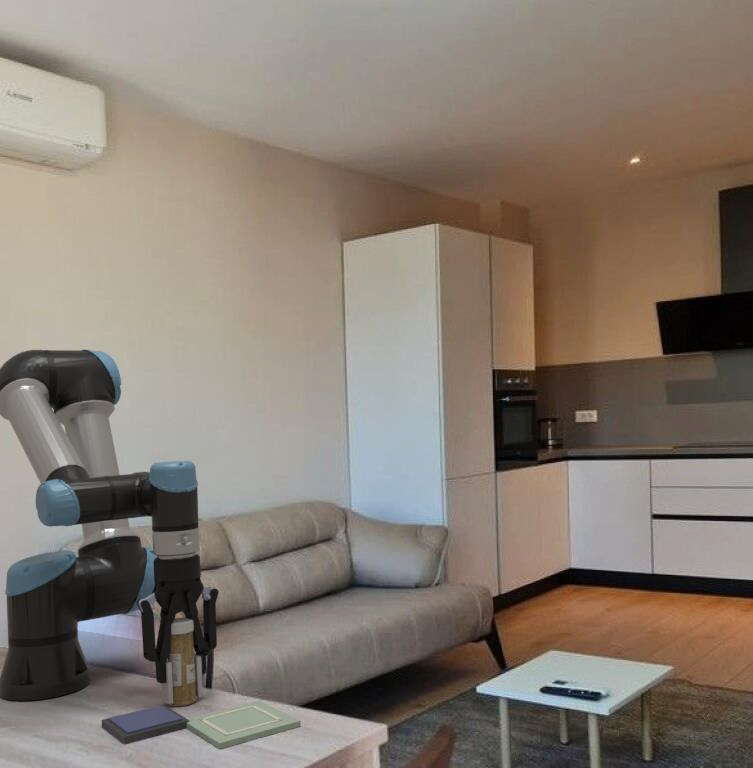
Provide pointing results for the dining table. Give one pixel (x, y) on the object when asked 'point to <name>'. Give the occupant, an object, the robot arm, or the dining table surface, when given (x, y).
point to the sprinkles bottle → (182, 662)
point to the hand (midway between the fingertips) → (182, 698)
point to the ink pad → (144, 724)
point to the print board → (241, 724)
